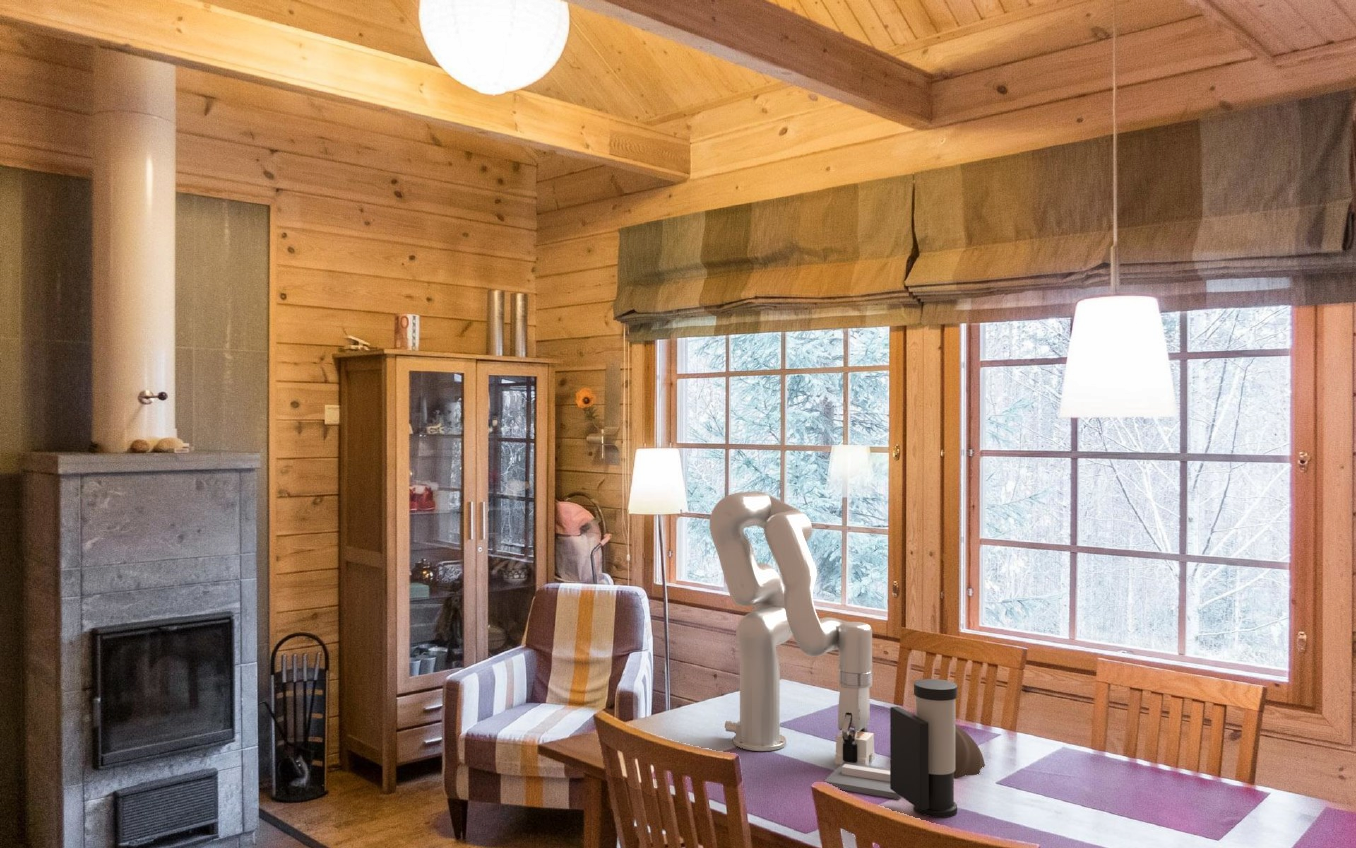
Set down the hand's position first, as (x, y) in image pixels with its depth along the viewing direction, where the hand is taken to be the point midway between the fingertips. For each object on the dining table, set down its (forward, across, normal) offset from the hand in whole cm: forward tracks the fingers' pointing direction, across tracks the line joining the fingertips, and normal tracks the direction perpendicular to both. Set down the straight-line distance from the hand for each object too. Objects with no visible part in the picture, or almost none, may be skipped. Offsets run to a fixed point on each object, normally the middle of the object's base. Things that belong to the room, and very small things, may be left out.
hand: (855, 756), depth 228 cm
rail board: (+1, +12, +7) cm, 14 cm away
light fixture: (+1, +22, +22) cm, 31 cm away
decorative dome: (+2, -7, +17) cm, 19 cm away
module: (+1, 0, 0) cm, 1 cm away
